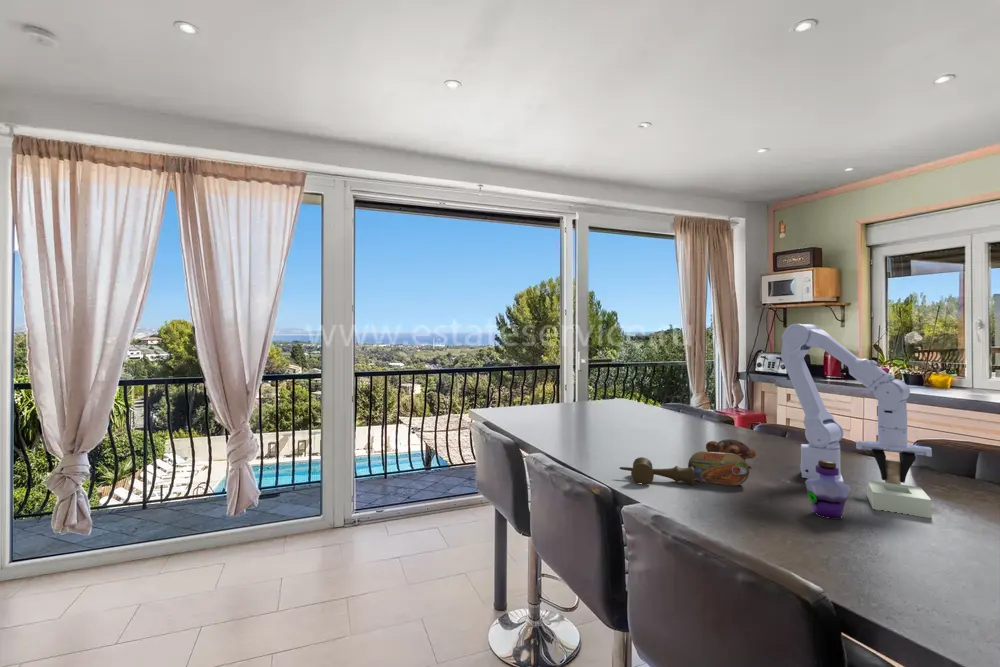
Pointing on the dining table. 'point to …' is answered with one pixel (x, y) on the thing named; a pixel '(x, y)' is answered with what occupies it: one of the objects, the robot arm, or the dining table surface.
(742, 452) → the decorative turtle
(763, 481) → the dining table surface
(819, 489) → the potion bottle
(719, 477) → the tin
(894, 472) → the peg
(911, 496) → the socket block
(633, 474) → the kendama
